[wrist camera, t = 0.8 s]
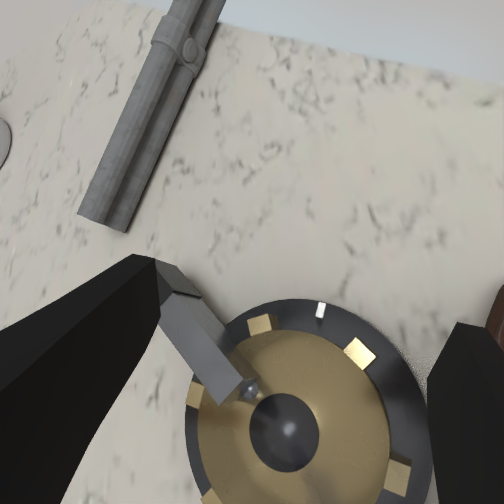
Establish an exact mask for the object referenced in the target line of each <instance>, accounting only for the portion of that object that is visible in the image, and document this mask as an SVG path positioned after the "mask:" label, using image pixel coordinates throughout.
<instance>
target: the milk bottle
mask: <svg viewBox="0 0 504 504" xmlns="http://www.w3.org/2000/svg"><path fill="white" fill-rule="evenodd" d="M10 141H11V134H10V130H9V128H8V126H7V124H6V123H5V122H4V121H3V120H2V119H1V118H0V167H1V165H2V164H3V162H4V160H5V158H6V156H7V154H8V151H9V147H10Z"/></svg>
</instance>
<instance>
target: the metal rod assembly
mask: <svg viewBox="0 0 504 504" xmlns="http://www.w3.org/2000/svg"><path fill="white" fill-rule="evenodd" d="M225 2H226V0H173V3H172V5H171V7H170V9H169V11H168V14H167V15H165V16H162V18H161V21H160V23H159V24H158V26H157V29H156V31H155V33H154V35H153V38H152V40H151V45H152V47H151V49H150V52H149V54H148V56H147V58H146V60H145V63H144V65H143V67H142V69H141V72H140V74H139V76H138V78H137V80H136V83H135V85H134V87H133V89H132V92H131V94H130V96H129V98H128V101H127V103H126V105H125V107H124V109H123V112H122V114H121V116H120V118H119V121H118V123H117V125H116V127H115V129H114V132H113V134H112V136H111V138H110V141H109V143H108V145H107V147H106V150H105V152H104V154H103V156H102V158H101V161H100V163H99V165H98V167H97V170H96V172H95V174H94V176H93V178H92V181H91V183H90V185H89V187H88V190H87V192H86V194H85V196H84V199H83V201H82V203H81V205H80V207H79V210H78V212H77V214H78V215H81V216H83V217H85V218H87V219H89V220H92V221H94V222H97V223H100V224H103V225H105V226H108V227H110V228H113V229H115V230H118V231H121V232H123V233H125V231H126V229H127V226H128V224H129V222H130V220H131V217H132V215H133V213H134V210H135V208H136V206H137V204H138V201H139V199H140V197H141V195H142V192H143V190H144V188H145V186H146V183H147V181H148V179H149V176H150V174H151V172H152V170H153V167H154V165H155V163H156V161H157V158H158V156H159V154H160V152H161V149H162V147H163V145H164V142H165V140H166V138H167V136H168V133H169V131H170V129H171V127H172V124H173V122H174V120H175V118H176V115H177V113H178V111H179V109H180V106H181V104H182V102H183V99H184V97H185V95H186V93H187V90H188V88H189V86H190V84H191V81H192V79H193V78H196V76H197V74H198V73H199V70H200V68H201V66H202V64H203V61H204V58H205V56H206V52H205V50H204V49H205V47H206V45H207V43H208V40H209V38H210V36H211V33H212V31H213V29H214V27H215V24H216V22H217V20H218V18H219V15H220V13H221V11H222V9H223V6H224V4H225Z"/></svg>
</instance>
